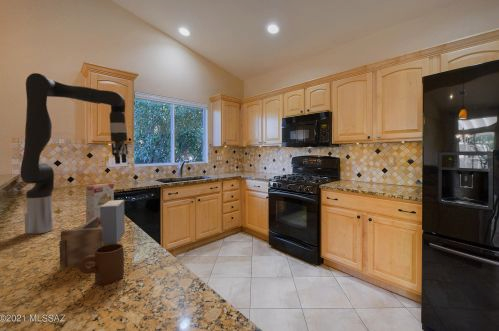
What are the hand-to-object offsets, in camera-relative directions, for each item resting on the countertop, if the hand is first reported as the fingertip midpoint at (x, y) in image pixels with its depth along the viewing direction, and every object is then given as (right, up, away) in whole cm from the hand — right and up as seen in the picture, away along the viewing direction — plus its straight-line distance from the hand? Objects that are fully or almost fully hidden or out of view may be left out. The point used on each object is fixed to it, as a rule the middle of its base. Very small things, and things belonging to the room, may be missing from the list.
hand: (121, 163), depth 122 cm
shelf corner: (+6, -35, -28) cm, 45 cm away
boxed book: (+6, -34, -17) cm, 39 cm away
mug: (+24, -36, -53) cm, 68 cm away
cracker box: (-18, -33, +12) cm, 39 cm away
